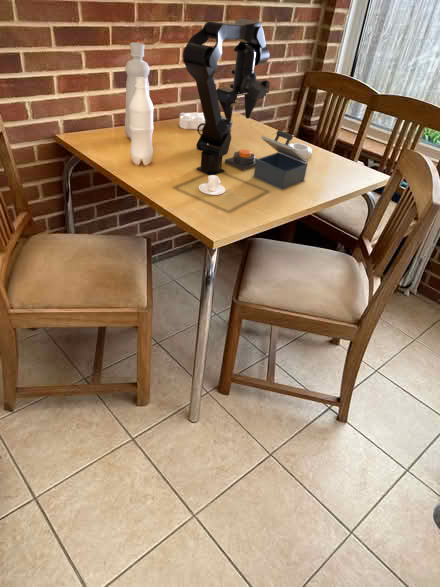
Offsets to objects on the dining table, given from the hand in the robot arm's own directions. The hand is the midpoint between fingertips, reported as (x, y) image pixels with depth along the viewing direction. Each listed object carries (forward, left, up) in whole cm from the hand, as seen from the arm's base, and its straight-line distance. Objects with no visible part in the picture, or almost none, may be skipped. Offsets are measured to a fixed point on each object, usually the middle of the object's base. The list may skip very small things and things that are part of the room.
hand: (238, 120), depth 147 cm
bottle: (-15, +32, -13) cm, 38 cm away
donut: (+23, -11, -13) cm, 28 cm away
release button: (0, -5, -10) cm, 11 cm away
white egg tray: (+16, +32, -13) cm, 38 cm away
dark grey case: (0, -20, -13) cm, 24 cm away
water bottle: (-28, +14, -13) cm, 34 cm away
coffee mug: (+2, +11, -13) cm, 17 cm away
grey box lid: (0, -20, -4) cm, 20 cm away
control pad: (0, -5, -13) cm, 14 cm away
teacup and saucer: (-21, -14, -13) cm, 29 cm away
